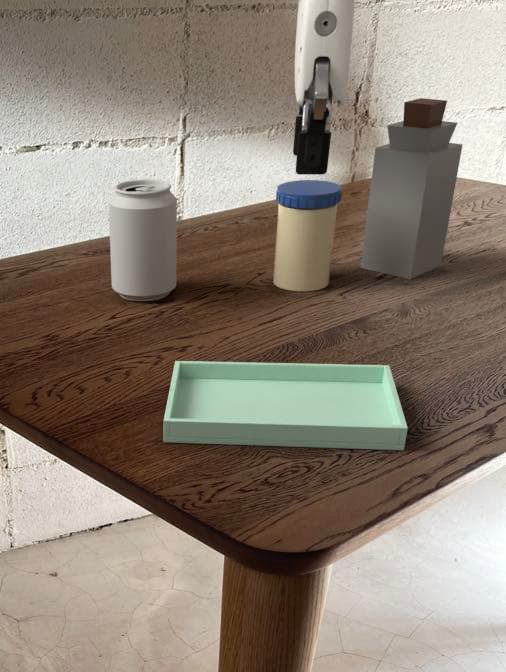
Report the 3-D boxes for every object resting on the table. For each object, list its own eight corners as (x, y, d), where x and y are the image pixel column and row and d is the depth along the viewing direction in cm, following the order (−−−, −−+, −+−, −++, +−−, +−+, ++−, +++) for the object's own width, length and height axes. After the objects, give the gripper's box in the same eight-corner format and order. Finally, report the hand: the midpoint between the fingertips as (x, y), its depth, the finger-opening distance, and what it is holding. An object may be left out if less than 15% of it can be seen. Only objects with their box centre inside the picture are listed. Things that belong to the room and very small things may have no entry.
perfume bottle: (410, 279, 101) (437, 108, 91) (360, 267, 105) (381, 103, 95) (440, 265, 105) (470, 99, 94) (391, 254, 109) (414, 94, 99)
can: (149, 277, 106) (147, 172, 99) (189, 292, 100) (191, 183, 94) (99, 292, 102) (94, 184, 95) (138, 308, 97) (136, 196, 90)
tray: (386, 385, 78) (389, 364, 77) (404, 450, 69) (407, 427, 67) (175, 380, 81) (175, 360, 80) (163, 442, 71) (163, 420, 70)
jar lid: (338, 192, 99) (339, 179, 98) (343, 208, 93) (344, 195, 92) (275, 193, 100) (276, 180, 99) (276, 209, 94) (277, 195, 93)
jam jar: (327, 273, 104) (336, 183, 98) (330, 292, 99) (340, 198, 93) (272, 273, 105) (278, 184, 99) (273, 291, 100) (280, 198, 94)
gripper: (377, -24, 77) (351, 183, 87) (359, -33, 91) (338, 147, 101) (290, -21, 78) (274, 183, 88) (286, -30, 92) (273, 147, 102)
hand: (309, 163), depth 95 cm, fingers open, 8 cm apart
